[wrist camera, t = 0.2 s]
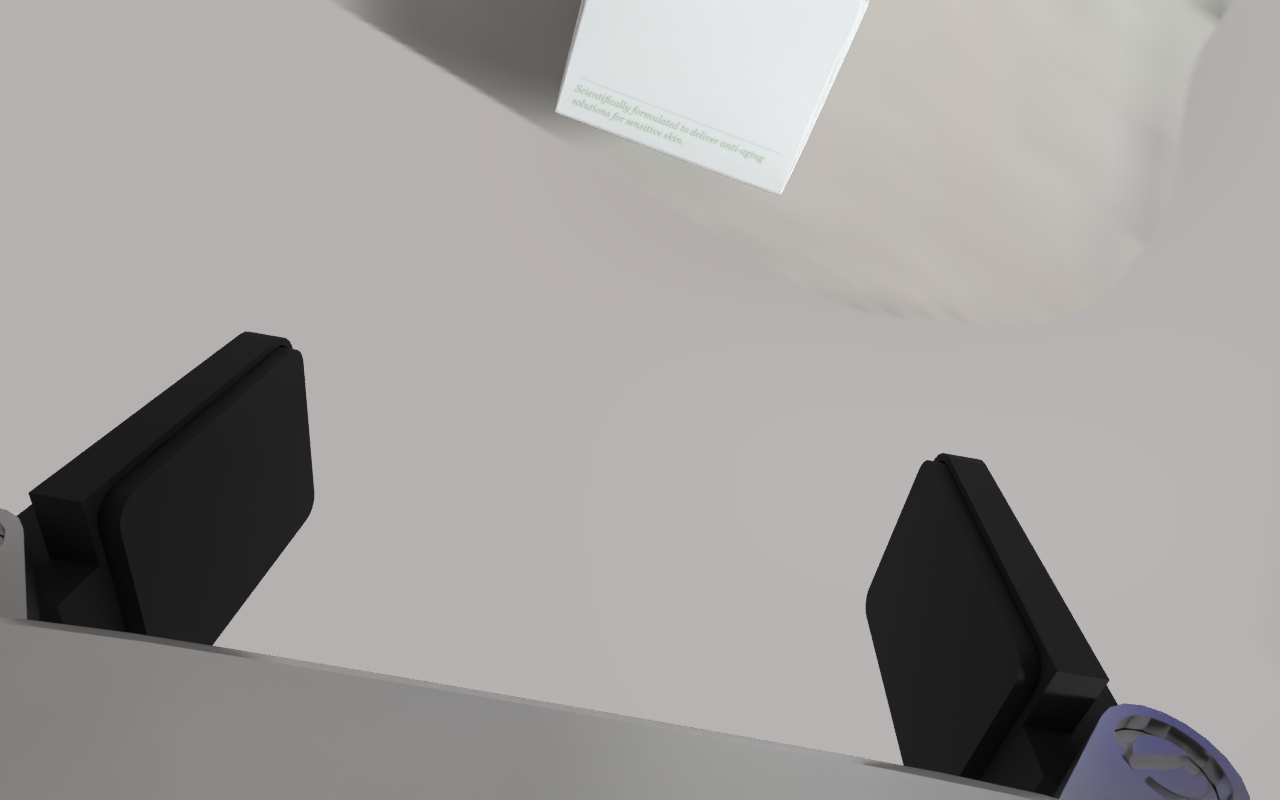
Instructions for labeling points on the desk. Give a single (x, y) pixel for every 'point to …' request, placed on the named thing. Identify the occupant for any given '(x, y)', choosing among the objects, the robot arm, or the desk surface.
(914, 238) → the desk surface
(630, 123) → the skincare box
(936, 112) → the desk surface
